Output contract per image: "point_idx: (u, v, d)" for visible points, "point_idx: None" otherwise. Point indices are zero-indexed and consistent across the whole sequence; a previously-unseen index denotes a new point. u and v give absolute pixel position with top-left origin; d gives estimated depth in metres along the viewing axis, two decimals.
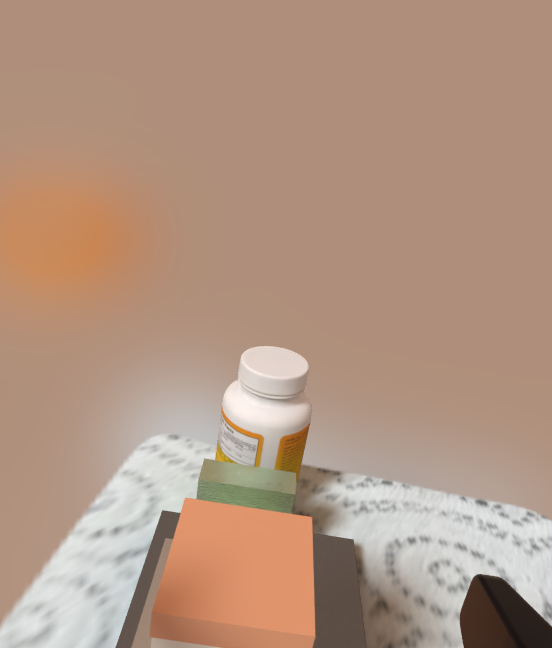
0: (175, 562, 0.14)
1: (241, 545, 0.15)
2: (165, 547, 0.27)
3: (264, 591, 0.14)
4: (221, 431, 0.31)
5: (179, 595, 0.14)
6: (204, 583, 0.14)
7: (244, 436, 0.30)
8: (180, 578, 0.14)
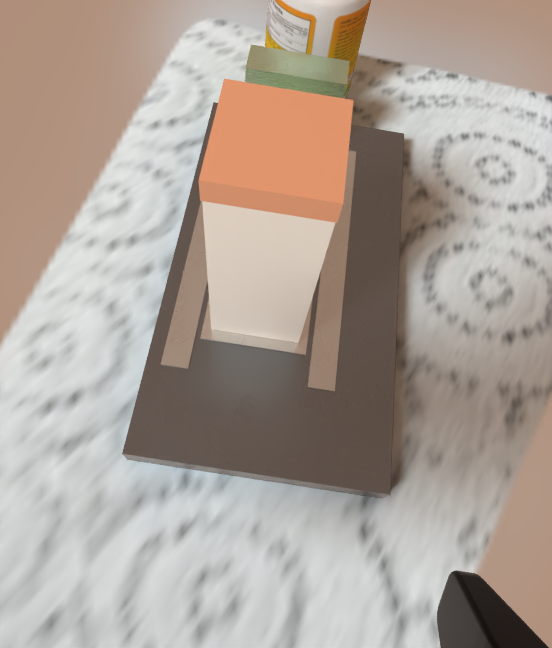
0: (217, 139, 0.15)
1: (279, 125, 0.16)
2: None
3: (300, 166, 0.15)
4: (269, 12, 0.28)
5: (222, 167, 0.15)
6: (244, 158, 0.15)
7: (294, 18, 0.26)
8: (222, 153, 0.15)
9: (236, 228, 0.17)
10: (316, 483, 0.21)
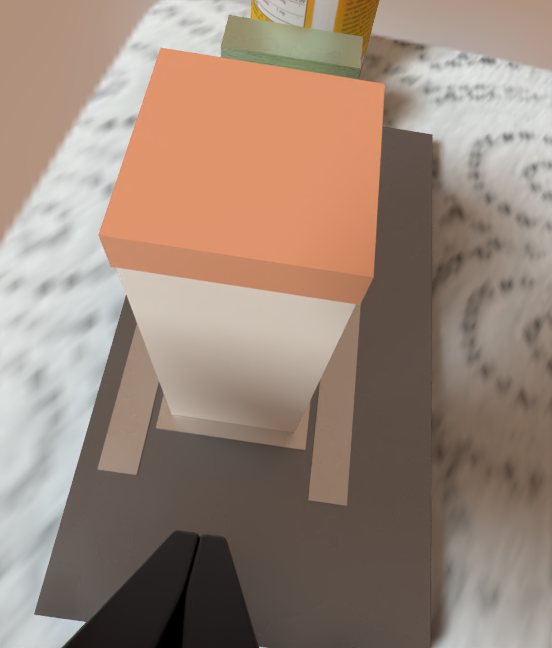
0: (140, 156, 0.08)
1: (255, 129, 0.09)
2: None
3: (292, 205, 0.08)
4: None
5: (146, 208, 0.08)
6: (189, 190, 0.08)
7: None
8: (147, 181, 0.08)
9: (184, 307, 0.10)
10: None
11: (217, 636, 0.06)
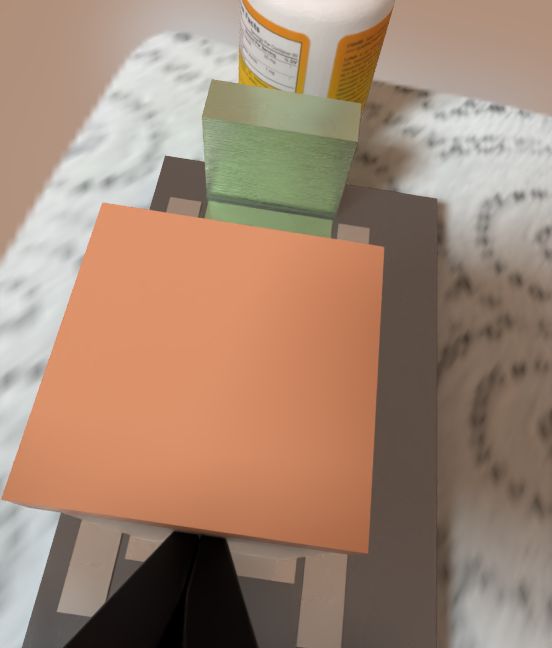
0: (66, 369, 0.06)
1: (218, 321, 0.07)
2: (171, 210, 0.20)
3: (262, 439, 0.06)
4: (241, 28, 0.19)
5: (69, 453, 0.06)
6: (128, 421, 0.06)
7: (277, 38, 0.17)
8: (73, 409, 0.06)
9: (133, 523, 0.08)
10: None
11: (217, 636, 0.06)
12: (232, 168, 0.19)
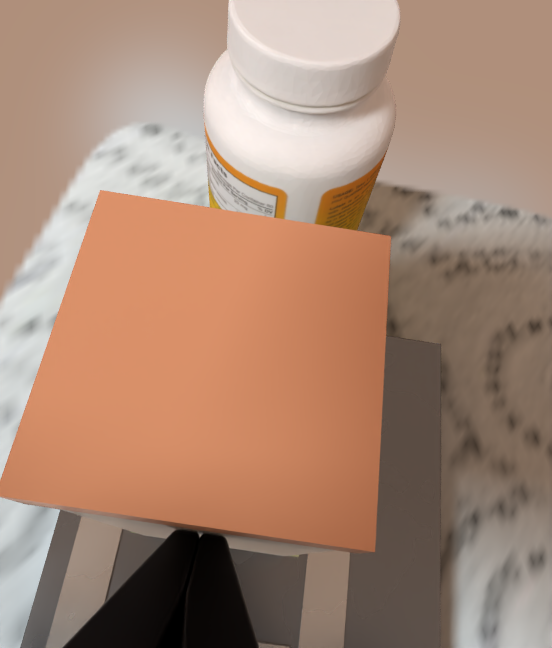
0: (62, 361, 0.06)
1: (220, 312, 0.07)
2: None
3: (265, 434, 0.06)
4: (208, 162, 0.16)
5: (66, 447, 0.06)
6: (126, 415, 0.06)
7: (248, 188, 0.14)
8: (69, 403, 0.06)
9: (132, 520, 0.08)
10: None
11: (217, 636, 0.06)
12: None
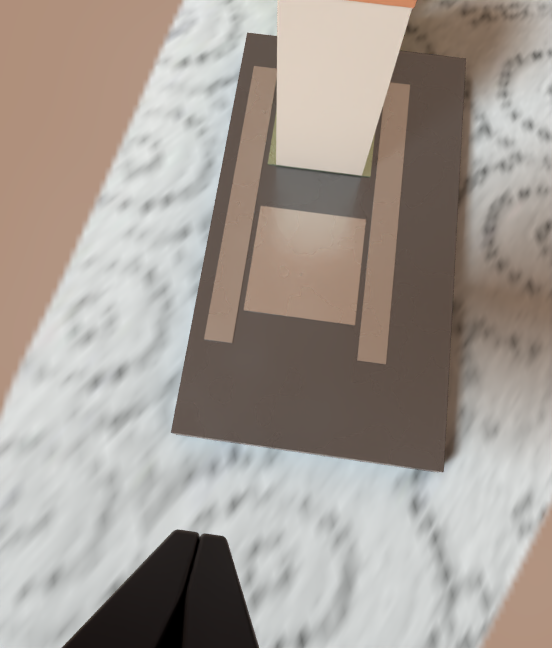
0: None
1: None
2: (255, 76, 0.26)
3: None
4: None
5: None
6: None
7: None
8: None
9: (310, 27, 0.17)
10: (367, 460, 0.21)
11: (217, 636, 0.06)
12: None
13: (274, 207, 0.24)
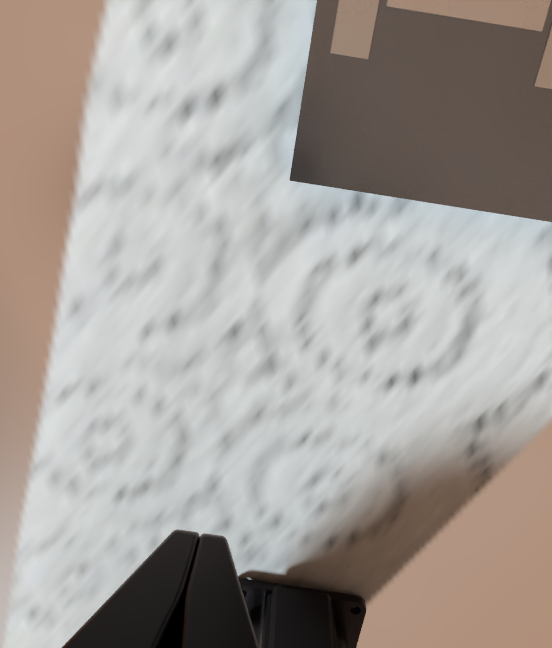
0: None
1: None
2: None
3: None
4: None
5: None
6: None
7: None
8: None
9: None
10: (518, 216, 0.18)
11: (217, 636, 0.06)
12: None
13: None
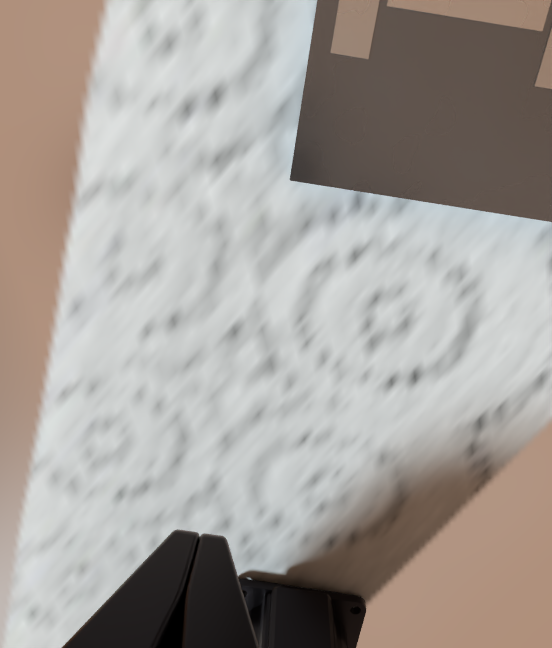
0: None
1: None
2: None
3: None
4: None
5: None
6: None
7: None
8: None
9: None
10: (519, 216, 0.18)
11: (217, 636, 0.06)
12: None
13: None
